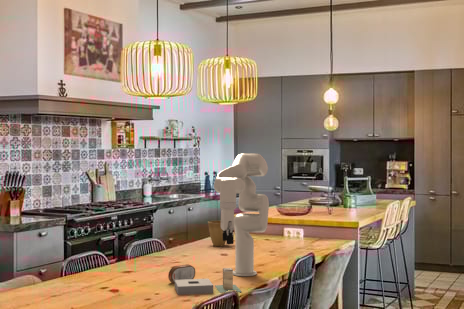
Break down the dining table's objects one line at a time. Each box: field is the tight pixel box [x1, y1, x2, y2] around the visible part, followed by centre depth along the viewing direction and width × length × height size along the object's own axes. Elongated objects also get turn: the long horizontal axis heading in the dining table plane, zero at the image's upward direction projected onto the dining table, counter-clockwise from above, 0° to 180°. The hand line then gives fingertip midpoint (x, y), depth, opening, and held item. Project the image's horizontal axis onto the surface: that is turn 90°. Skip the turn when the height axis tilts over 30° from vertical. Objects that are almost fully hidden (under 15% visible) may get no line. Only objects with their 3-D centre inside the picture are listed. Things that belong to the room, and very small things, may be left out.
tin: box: [167, 263, 196, 284], centre depth 298 cm, size 15×3×8 cm, turn 131°
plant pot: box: [207, 220, 226, 247], centre depth 410 cm, size 15×15×16 cm
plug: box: [222, 267, 234, 289], centre depth 284 cm, size 4×4×9 cm
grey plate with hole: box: [174, 278, 214, 295], centre depth 280 cm, size 14×16×4 cm
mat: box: [214, 284, 242, 294], centre depth 284 cm, size 14×10×1 cm
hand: (227, 242), depth 283 cm, fingers open, 9 cm apart
